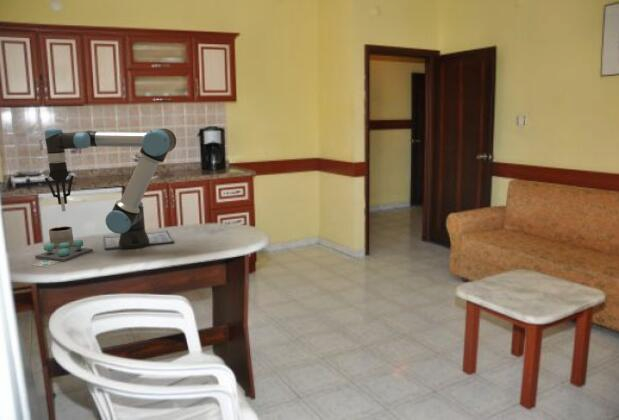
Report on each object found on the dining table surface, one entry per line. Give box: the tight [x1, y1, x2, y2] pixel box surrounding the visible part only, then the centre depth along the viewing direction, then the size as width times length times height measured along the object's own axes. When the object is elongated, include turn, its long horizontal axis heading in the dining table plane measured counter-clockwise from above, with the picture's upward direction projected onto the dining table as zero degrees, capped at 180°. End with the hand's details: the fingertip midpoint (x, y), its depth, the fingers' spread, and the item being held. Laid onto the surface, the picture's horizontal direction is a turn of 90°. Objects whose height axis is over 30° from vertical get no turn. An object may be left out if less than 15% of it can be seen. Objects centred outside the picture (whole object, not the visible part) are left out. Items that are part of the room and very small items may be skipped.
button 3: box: [59, 242, 70, 249], centre depth 257 cm, size 5×5×4 cm
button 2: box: [58, 248, 69, 257], centre depth 245 cm, size 5×5×4 cm
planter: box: [48, 226, 74, 249], centre depth 266 cm, size 11×11×10 cm
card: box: [31, 260, 60, 268], centre depth 238 cm, size 8×8×1 cm
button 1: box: [72, 239, 84, 249], centre depth 253 cm, size 5×5×4 cm
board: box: [34, 246, 94, 263], centre depth 251 cm, size 18×18×2 cm
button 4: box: [43, 242, 55, 253], centre depth 248 cm, size 5×5×4 cm
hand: (63, 210), depth 250 cm, fingers closed
